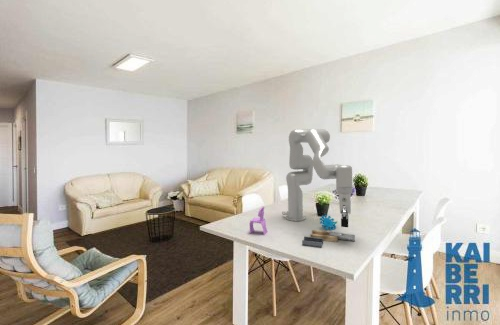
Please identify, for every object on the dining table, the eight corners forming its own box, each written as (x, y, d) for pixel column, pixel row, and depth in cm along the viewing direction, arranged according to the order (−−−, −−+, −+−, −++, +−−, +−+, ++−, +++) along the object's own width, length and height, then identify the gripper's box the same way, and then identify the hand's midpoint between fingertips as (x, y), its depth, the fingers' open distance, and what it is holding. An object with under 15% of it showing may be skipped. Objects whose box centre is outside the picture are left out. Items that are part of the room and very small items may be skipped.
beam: (310, 239, 128) (310, 234, 128) (312, 234, 135) (312, 230, 135) (337, 242, 123) (337, 237, 123) (338, 237, 131) (338, 232, 130)
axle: (329, 237, 127) (329, 231, 128) (329, 237, 130) (329, 231, 131) (354, 241, 123) (354, 235, 123) (354, 241, 126) (354, 234, 126)
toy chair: (253, 229, 146) (253, 204, 145) (268, 231, 143) (267, 205, 142) (248, 234, 138) (248, 207, 138) (263, 236, 135) (263, 208, 134)
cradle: (302, 246, 120) (302, 240, 120) (304, 241, 126) (304, 236, 126) (321, 248, 117) (321, 243, 116) (323, 243, 123) (323, 238, 123)
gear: (323, 229, 139) (318, 213, 146) (318, 234, 143) (314, 218, 150) (340, 230, 142) (335, 214, 148) (335, 235, 146) (330, 219, 153)
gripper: (352, 193, 115) (353, 229, 115) (352, 188, 131) (352, 220, 131) (335, 192, 118) (336, 228, 118) (337, 187, 134) (337, 219, 134)
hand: (344, 224), depth 125 cm, fingers open, 9 cm apart
